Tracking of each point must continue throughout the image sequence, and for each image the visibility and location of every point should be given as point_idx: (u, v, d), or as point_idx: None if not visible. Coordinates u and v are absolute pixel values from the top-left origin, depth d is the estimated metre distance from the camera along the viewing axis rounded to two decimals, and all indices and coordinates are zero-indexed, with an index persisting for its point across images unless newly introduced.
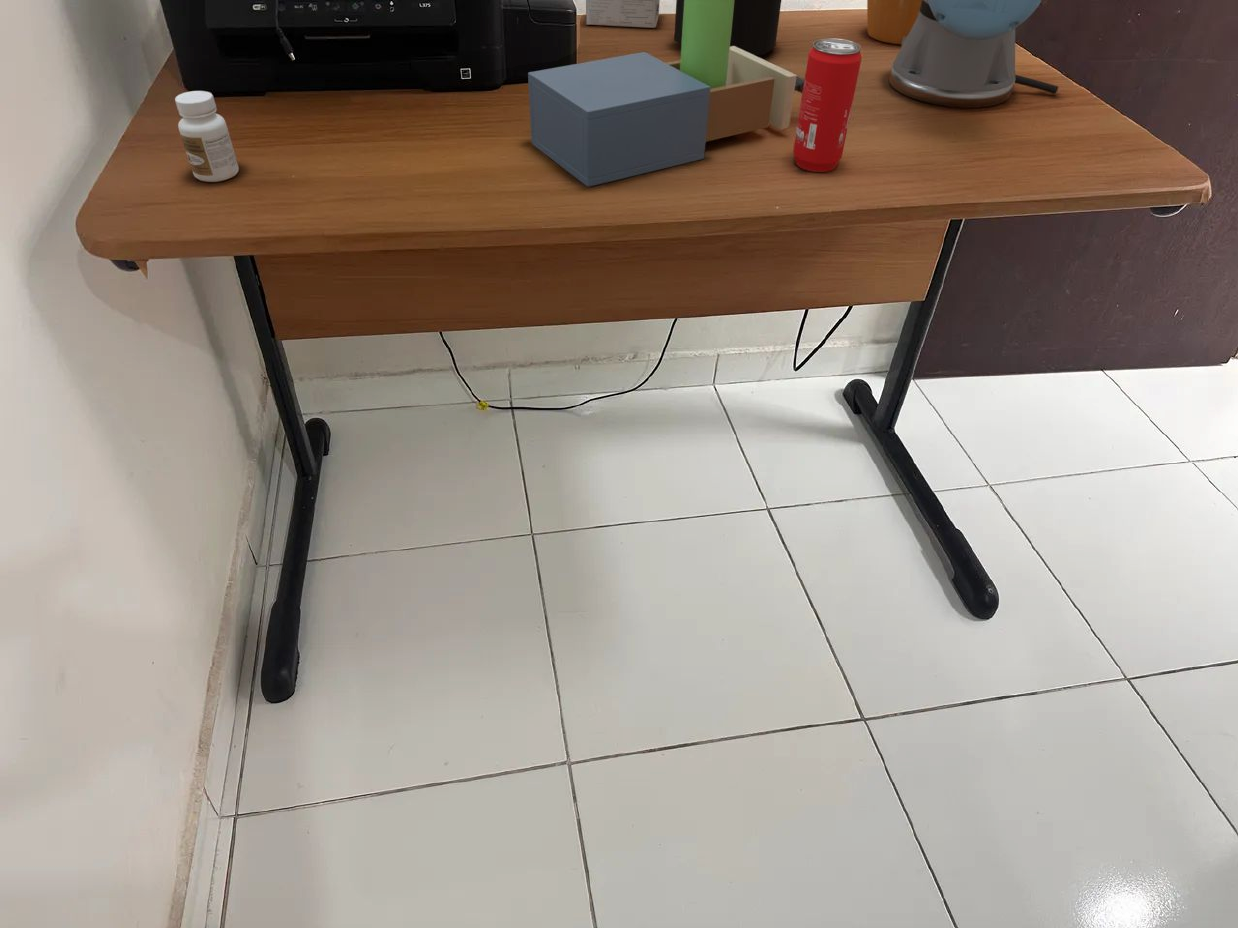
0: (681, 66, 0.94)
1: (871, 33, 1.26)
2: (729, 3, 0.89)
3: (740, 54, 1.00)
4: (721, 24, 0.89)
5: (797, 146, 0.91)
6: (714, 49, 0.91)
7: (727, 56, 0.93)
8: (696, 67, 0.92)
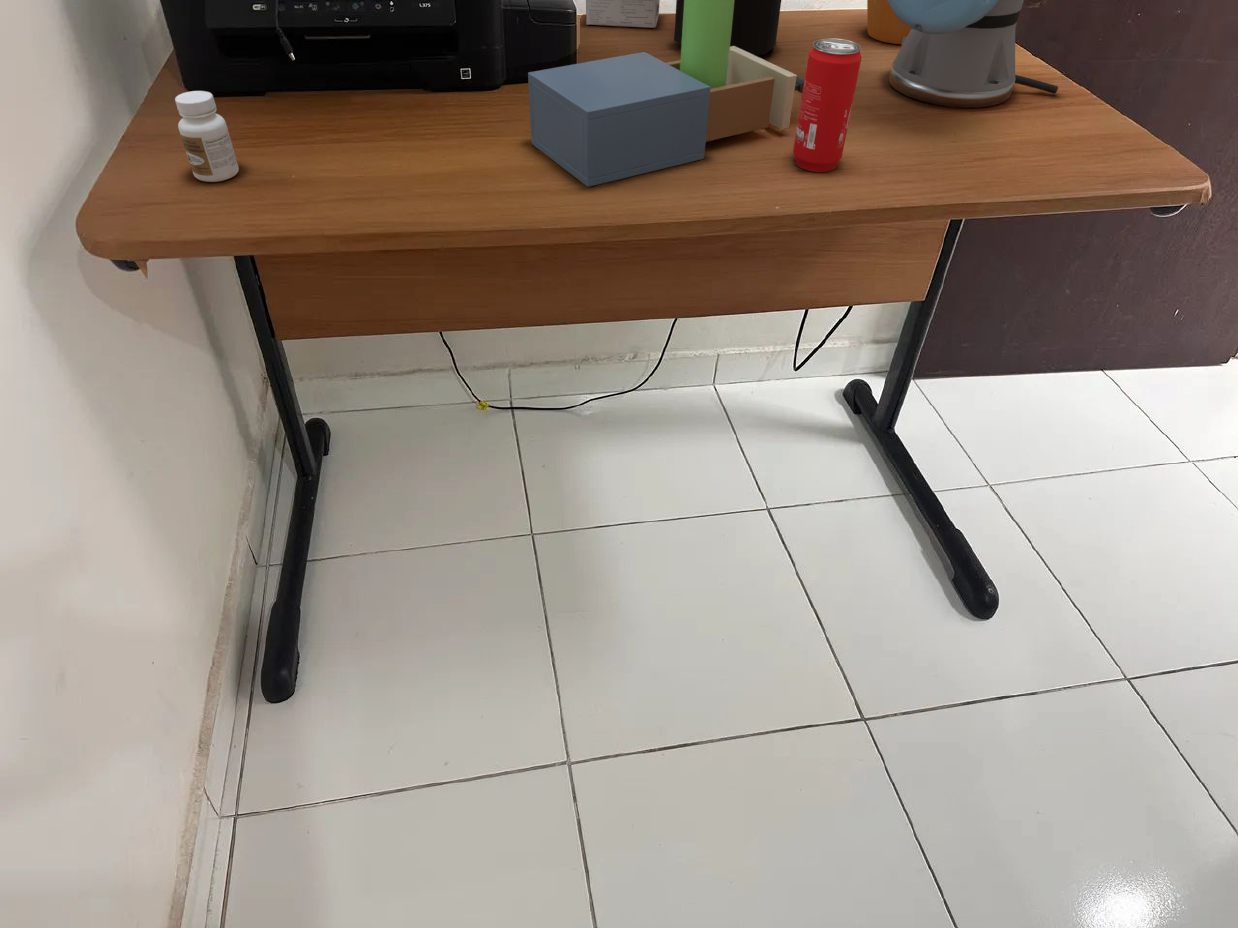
0: (681, 66, 0.94)
1: (871, 33, 1.26)
2: (729, 3, 0.89)
3: (740, 54, 1.00)
4: (721, 24, 0.89)
5: (797, 146, 0.91)
6: (714, 49, 0.91)
7: (727, 56, 0.93)
8: (696, 67, 0.92)
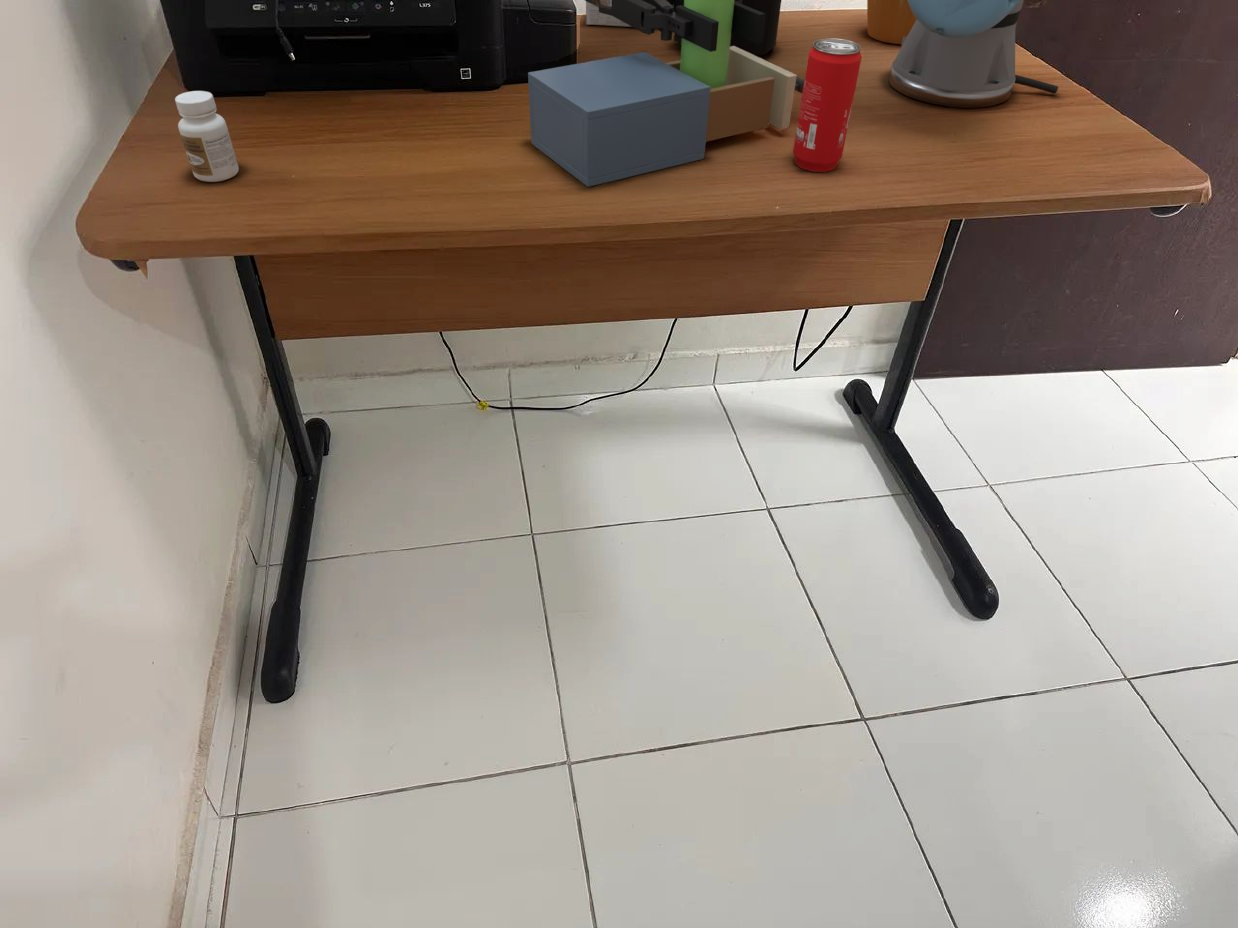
0: (681, 66, 0.94)
1: (871, 33, 1.26)
2: (729, 3, 0.89)
3: (740, 54, 1.00)
4: (721, 24, 0.89)
5: (797, 146, 0.91)
6: None
7: (727, 56, 0.93)
8: (696, 67, 0.92)
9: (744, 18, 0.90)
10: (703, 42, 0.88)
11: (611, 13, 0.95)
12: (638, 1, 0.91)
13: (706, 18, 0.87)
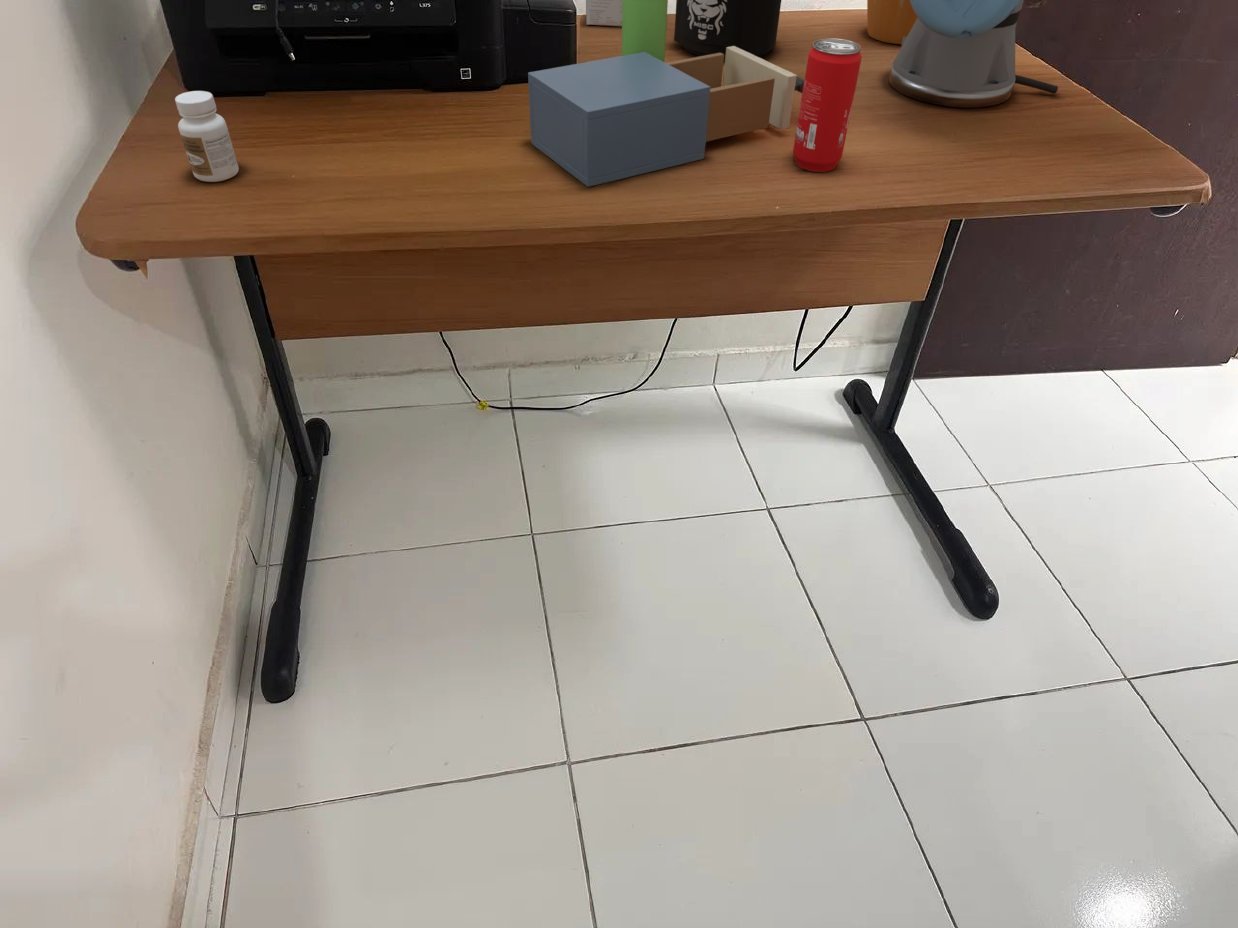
0: (622, 54, 1.03)
1: (871, 33, 1.26)
2: None
3: (740, 54, 1.00)
4: (656, 14, 0.98)
5: (797, 146, 0.91)
6: (650, 38, 1.00)
7: (663, 44, 1.02)
8: None
9: None
10: None
11: None
12: None
13: None
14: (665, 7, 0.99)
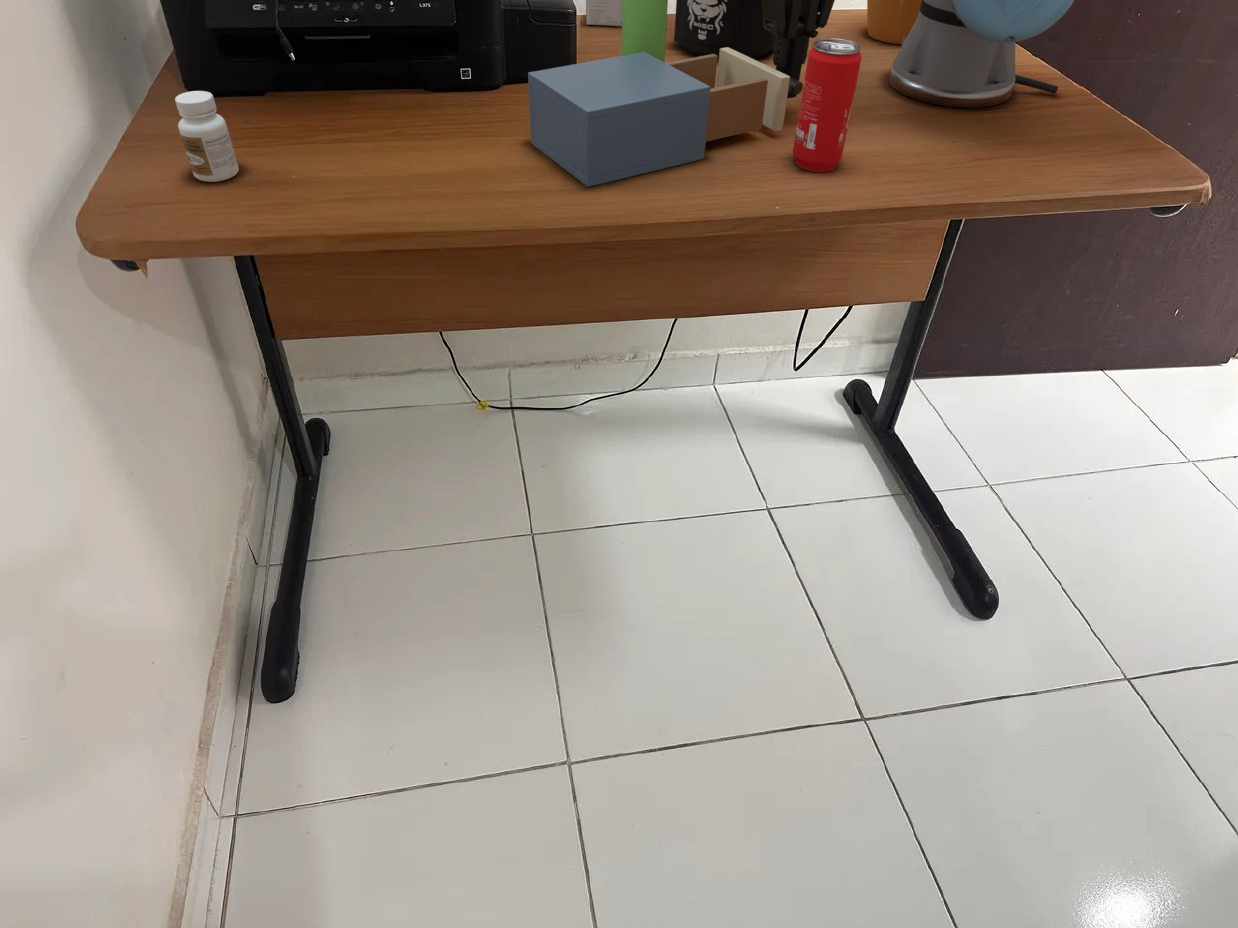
0: (622, 54, 1.03)
1: (871, 33, 1.26)
2: None
3: (734, 55, 0.99)
4: (656, 14, 0.98)
5: (797, 146, 0.91)
6: (650, 38, 1.00)
7: (663, 44, 1.02)
8: None
9: None
10: None
11: None
12: (780, 7, 0.94)
13: None
14: (665, 7, 0.99)
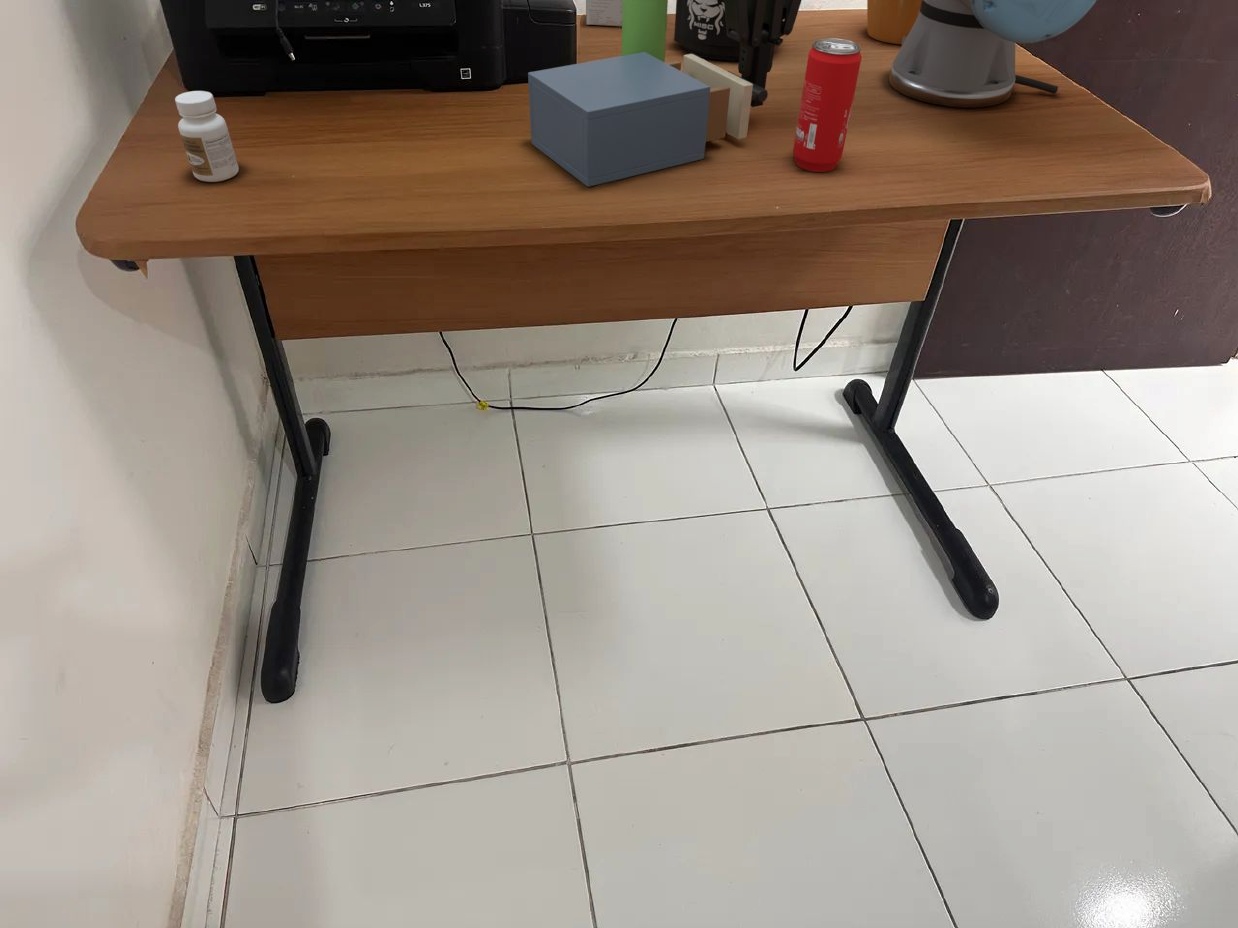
0: (622, 54, 1.03)
1: (871, 33, 1.26)
2: None
3: (697, 62, 0.97)
4: (656, 14, 0.98)
5: (797, 146, 0.91)
6: (650, 38, 1.00)
7: (663, 44, 1.02)
8: None
9: None
10: None
11: None
12: (743, 14, 0.92)
13: None
14: (665, 7, 0.99)
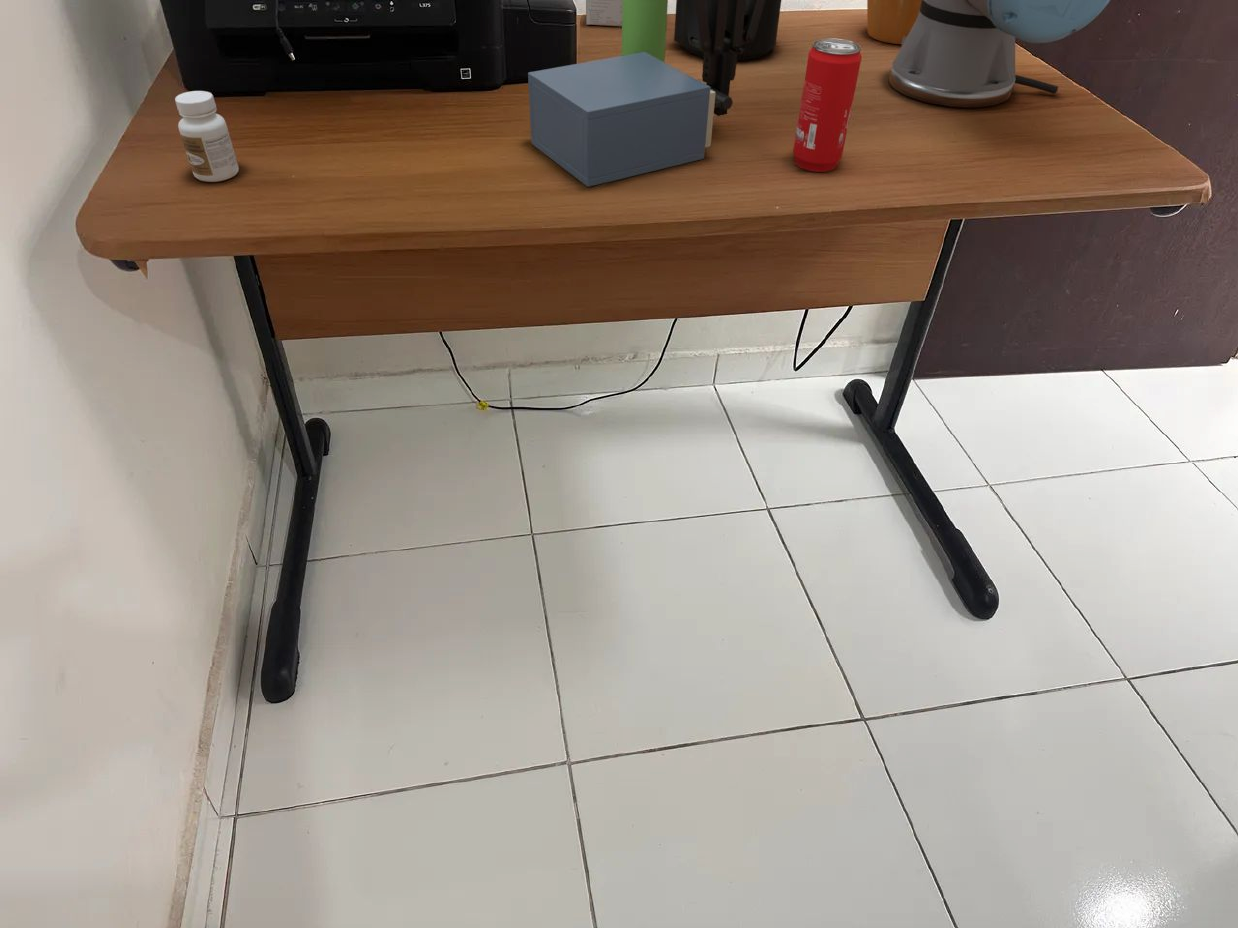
0: (622, 54, 1.03)
1: (871, 33, 1.26)
2: None
3: None
4: (656, 14, 0.98)
5: (797, 146, 0.91)
6: (650, 38, 1.00)
7: (663, 44, 1.02)
8: None
9: None
10: None
11: None
12: (703, 23, 0.90)
13: None
14: (665, 7, 0.99)
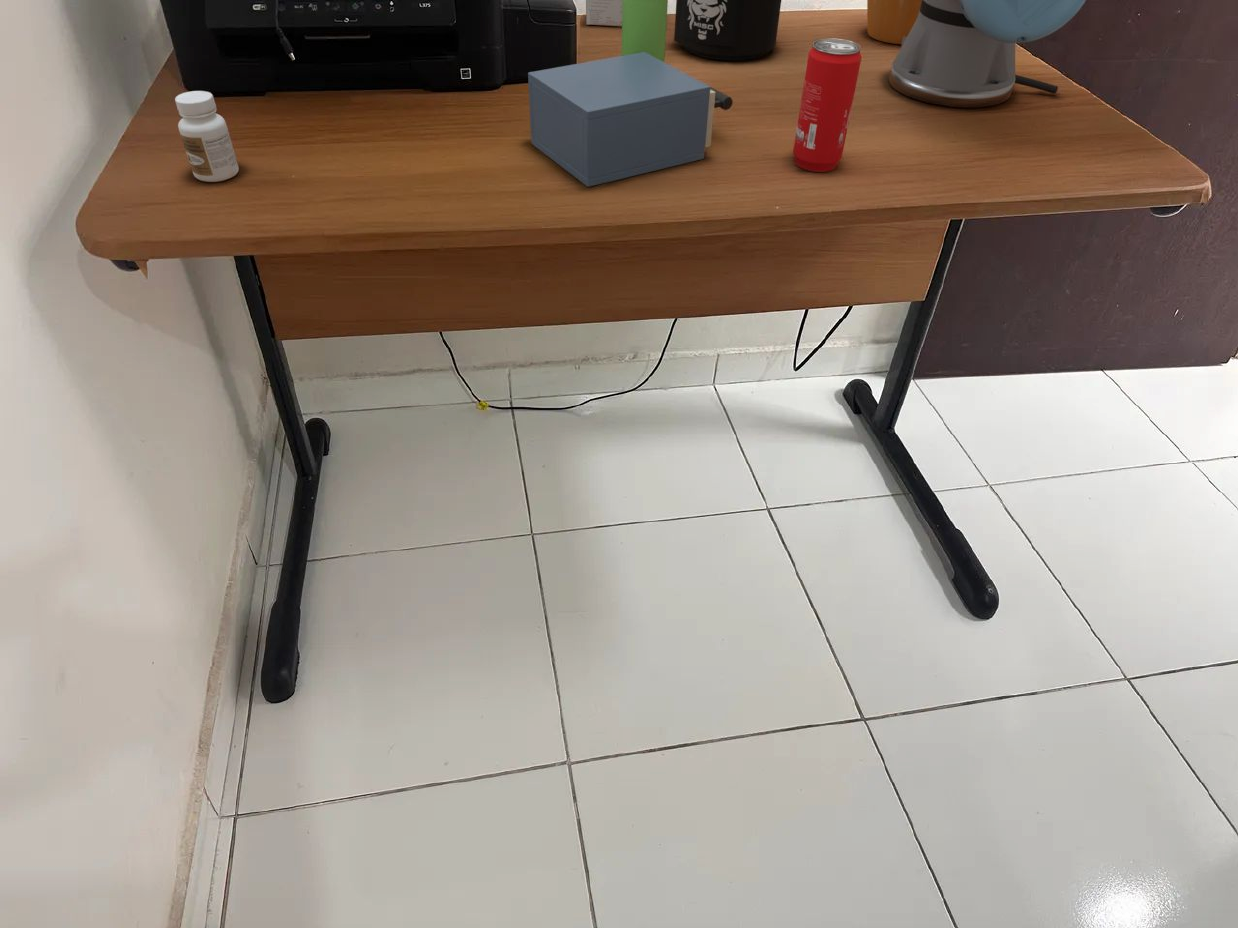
0: (622, 54, 1.03)
1: (871, 33, 1.26)
2: None
3: None
4: (656, 14, 0.98)
5: (797, 146, 0.91)
6: (650, 38, 1.00)
7: (663, 44, 1.02)
8: None
9: None
10: None
11: None
12: None
13: None
14: (665, 7, 0.99)
